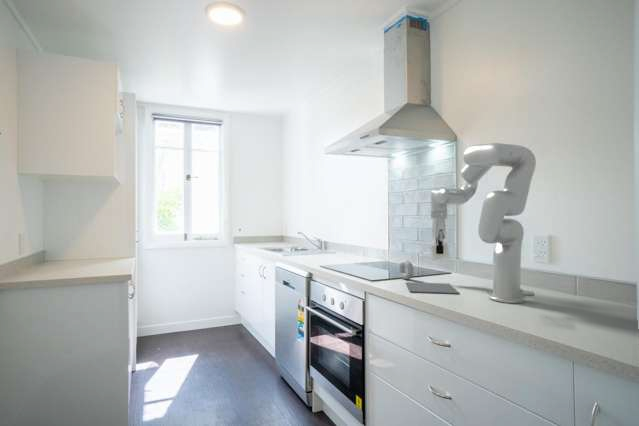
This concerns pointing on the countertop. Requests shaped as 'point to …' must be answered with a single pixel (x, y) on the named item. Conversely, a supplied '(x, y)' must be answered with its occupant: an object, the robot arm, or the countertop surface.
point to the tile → (439, 256)
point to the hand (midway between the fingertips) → (439, 253)
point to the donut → (409, 269)
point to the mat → (431, 288)
